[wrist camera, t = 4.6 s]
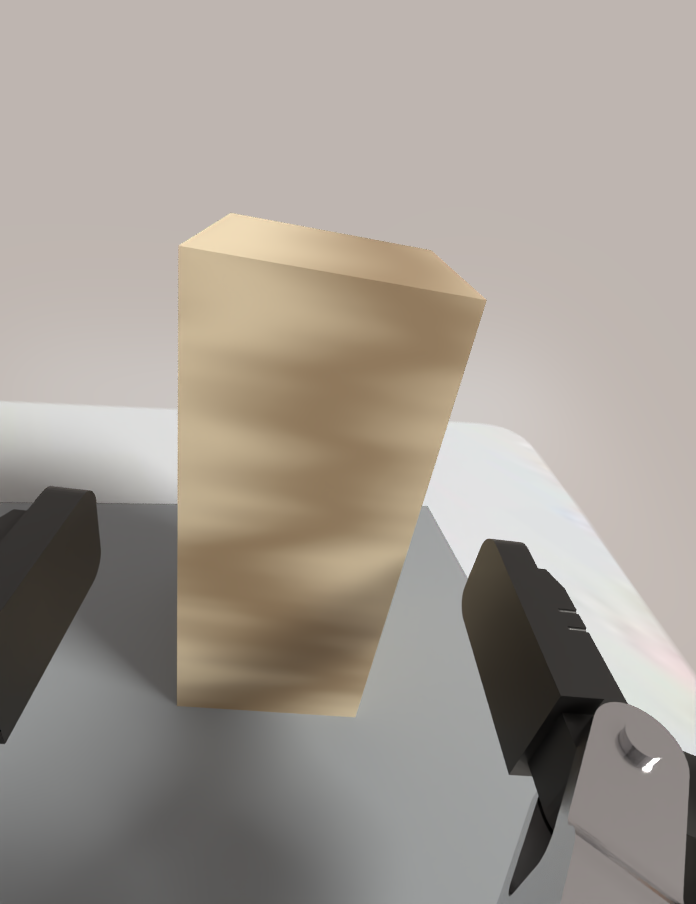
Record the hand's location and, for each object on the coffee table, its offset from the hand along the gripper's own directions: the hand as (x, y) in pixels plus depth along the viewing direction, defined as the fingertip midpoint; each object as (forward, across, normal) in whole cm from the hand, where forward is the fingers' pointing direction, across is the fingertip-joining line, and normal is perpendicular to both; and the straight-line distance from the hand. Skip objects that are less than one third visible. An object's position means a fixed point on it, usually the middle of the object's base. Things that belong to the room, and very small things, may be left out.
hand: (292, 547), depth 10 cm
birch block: (+3, 0, +6) cm, 7 cm away
